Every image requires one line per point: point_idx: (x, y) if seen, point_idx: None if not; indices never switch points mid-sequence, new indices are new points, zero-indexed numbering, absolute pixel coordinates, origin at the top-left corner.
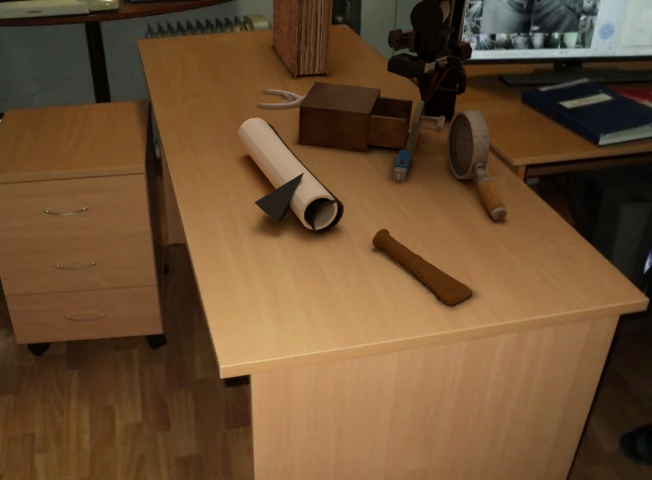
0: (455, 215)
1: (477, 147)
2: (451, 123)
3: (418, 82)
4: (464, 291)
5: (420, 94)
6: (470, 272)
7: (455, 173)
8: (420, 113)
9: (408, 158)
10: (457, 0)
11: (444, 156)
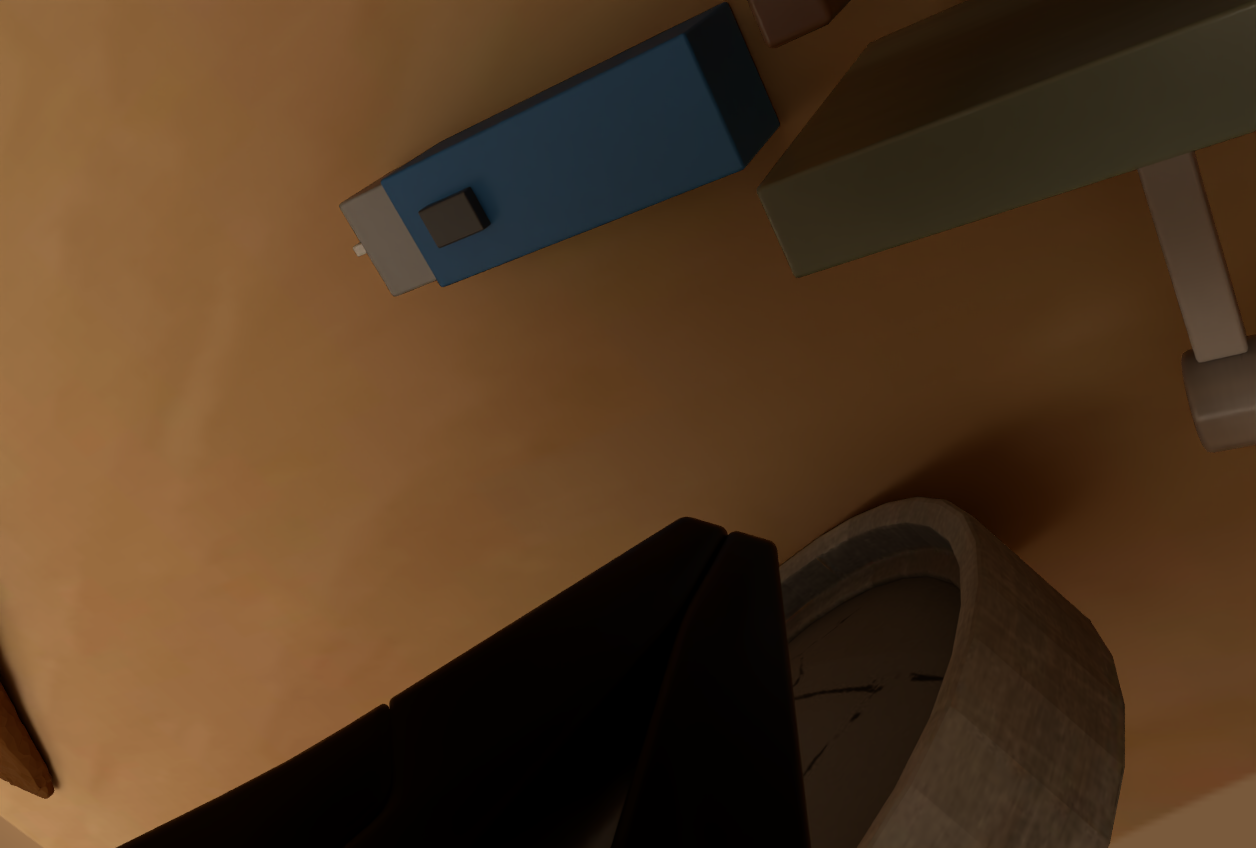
0: (372, 659)
1: None
2: (922, 740)
3: (314, 773)
4: (16, 784)
5: (596, 575)
6: (127, 771)
7: (801, 562)
8: (1233, 135)
9: (569, 227)
10: None
11: (1150, 357)
